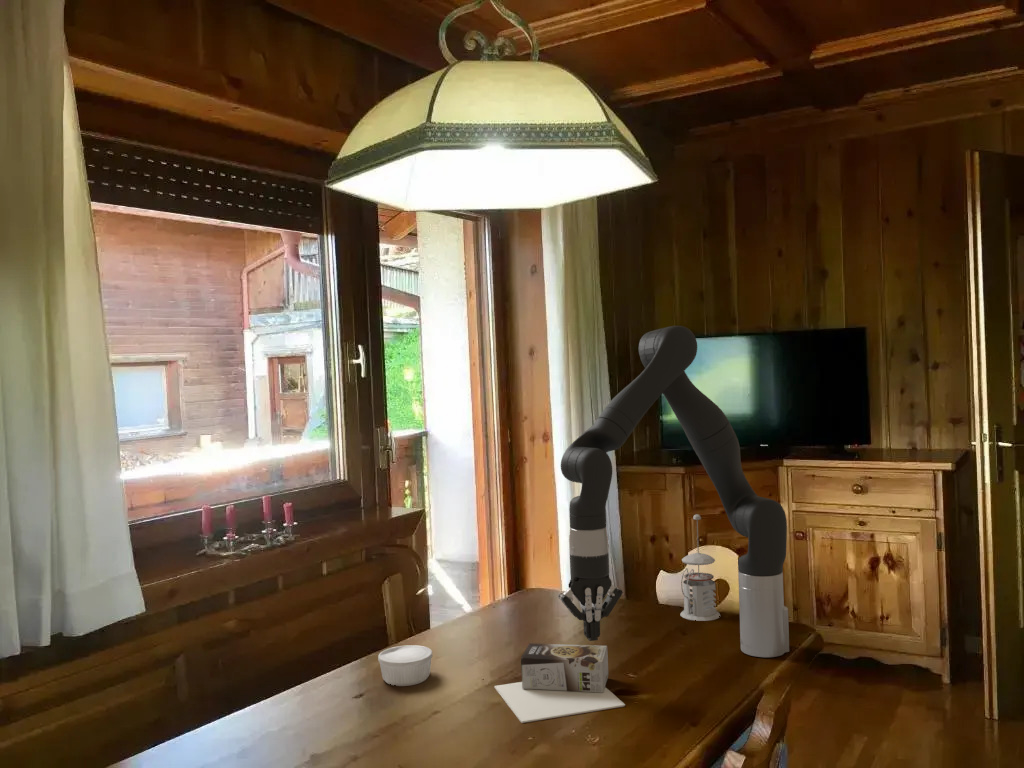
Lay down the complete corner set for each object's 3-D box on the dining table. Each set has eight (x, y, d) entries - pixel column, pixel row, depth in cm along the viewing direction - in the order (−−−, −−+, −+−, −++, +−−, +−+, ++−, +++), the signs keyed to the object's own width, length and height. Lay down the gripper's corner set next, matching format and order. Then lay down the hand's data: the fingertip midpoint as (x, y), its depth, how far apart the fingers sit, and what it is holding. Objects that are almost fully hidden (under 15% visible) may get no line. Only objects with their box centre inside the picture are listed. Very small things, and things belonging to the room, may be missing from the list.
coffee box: (603, 660, 163) (520, 657, 166) (604, 693, 163) (521, 690, 167) (607, 644, 172) (528, 641, 175) (608, 675, 172) (529, 672, 176)
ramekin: (401, 665, 184) (400, 641, 184) (444, 673, 178) (443, 648, 178) (367, 683, 174) (366, 658, 174) (411, 692, 169) (410, 665, 169)
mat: (588, 673, 175) (588, 671, 175) (625, 706, 158) (624, 704, 158) (494, 687, 169) (494, 685, 169) (521, 723, 152) (521, 721, 152)
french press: (728, 613, 212) (724, 513, 212) (703, 625, 204) (700, 520, 203) (693, 606, 219) (690, 509, 218) (668, 617, 210) (664, 516, 210)
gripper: (612, 543, 171) (615, 629, 171) (550, 549, 167) (553, 638, 167) (628, 550, 163) (631, 641, 164) (563, 557, 160) (566, 650, 160)
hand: (592, 639), depth 165 cm, fingers closed
